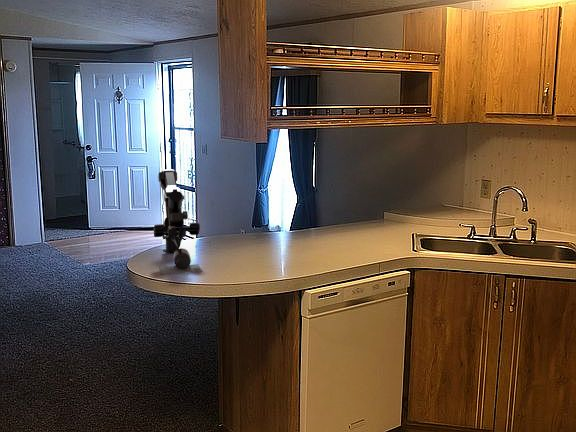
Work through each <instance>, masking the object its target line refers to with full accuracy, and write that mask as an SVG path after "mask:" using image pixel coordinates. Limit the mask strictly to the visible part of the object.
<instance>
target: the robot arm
mask: <svg viewBox="0 0 576 432" xmlns="http://www.w3.org/2000/svg"><path fill="white" fill-rule="evenodd" d="M157 177H158V179H157V180H158V182H159V187H160V188H161V189H162V190H163V192H164V194H163V201H164V204H165V205H164V206H165V214H166V215H165V218H164V221H163V224H154V226H153V237H155V238H161V237H162V240H165V249H162V251H163V252H165V253H168V254H172V253H173V254H174V252H175V251H176V250H178V249H180V248H181V243H182V242H183V239H184V238H185V237H186V236H187V232H188V233H189V235H190V236H198V235H200V229H201V226H200V223H199V222H190V223H189V225H185V220H188V218H189V216H188V211H187V210H182V206H183V202H184V200H185V196H184V195H183V193H182V192H181V189H180V187H177V183H176V182H177V181H178V171H175V169H163V170H162V171H160V172H158V175H157Z"/></svg>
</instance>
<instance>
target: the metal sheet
mask: <svg viewBox="0 0 576 432" xmlns="http://www.w3.org/2000/svg"><path fill="white" fill-rule="evenodd" d="M159 271H160V274H161V275H172V274H173V275H174V274H175V273H176V274H185V272H190V273H202V272H203V269H202V268H201V266H200V265H199V264H197V263H196V264H190V265H189V266H188V267H187V268H185V269H179V268H177V267H176V266H175V265H170V266H169V265H168V266H167V265H166V266H159Z"/></svg>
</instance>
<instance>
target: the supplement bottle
mask: <svg viewBox="0 0 576 432" xmlns="http://www.w3.org/2000/svg"><path fill="white" fill-rule="evenodd" d="M172 257H173V264H174V266H176V267H177V268H179V269H185V268H187V267H188V266H189V265H191V262H192V259H191V256H190V252H189V250H187V249H186V248H181V247H180V248H179V249H178V250H176V251H175V252H174V253H173V256H172Z"/></svg>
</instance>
